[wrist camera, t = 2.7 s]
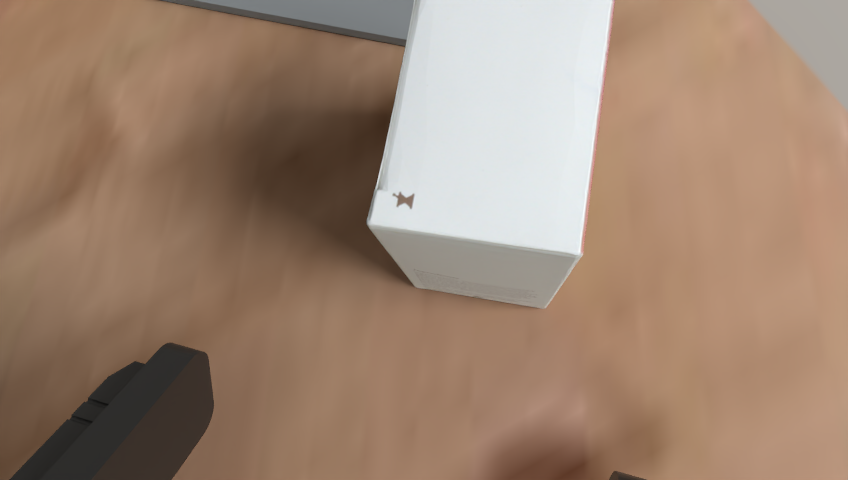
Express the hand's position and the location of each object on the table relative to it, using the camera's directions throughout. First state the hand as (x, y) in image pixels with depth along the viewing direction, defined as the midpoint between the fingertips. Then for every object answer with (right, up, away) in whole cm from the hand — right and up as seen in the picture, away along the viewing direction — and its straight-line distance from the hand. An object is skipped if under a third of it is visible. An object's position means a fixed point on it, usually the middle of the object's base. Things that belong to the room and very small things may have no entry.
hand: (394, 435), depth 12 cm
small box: (+4, +5, +15) cm, 16 cm away
